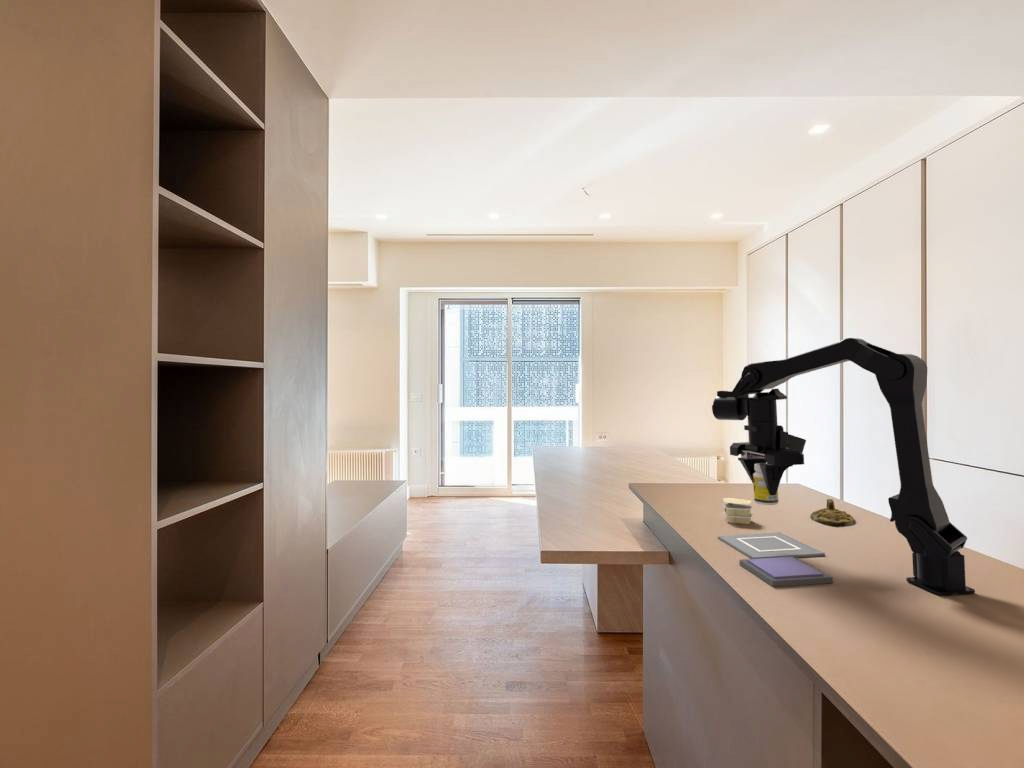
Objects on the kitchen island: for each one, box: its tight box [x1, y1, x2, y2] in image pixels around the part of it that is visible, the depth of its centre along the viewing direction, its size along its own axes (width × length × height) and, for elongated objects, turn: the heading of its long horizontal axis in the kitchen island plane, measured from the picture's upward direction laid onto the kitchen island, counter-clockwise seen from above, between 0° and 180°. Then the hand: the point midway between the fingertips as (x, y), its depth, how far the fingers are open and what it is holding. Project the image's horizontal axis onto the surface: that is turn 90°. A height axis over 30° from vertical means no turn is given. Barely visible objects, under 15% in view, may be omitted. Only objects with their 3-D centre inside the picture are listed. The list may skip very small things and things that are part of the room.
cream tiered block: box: [722, 497, 753, 525], centre depth 128 cm, size 10×9×6 cm
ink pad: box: [738, 556, 834, 588], centre depth 92 cm, size 11×11×1 cm
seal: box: [810, 498, 855, 527], centre depth 127 cm, size 9×5×15 cm
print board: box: [717, 531, 826, 559], centre depth 108 cm, size 15×15×1 cm
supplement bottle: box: [752, 463, 780, 506], centre depth 108 cm, size 5×5×8 cm
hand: (765, 492), depth 108 cm, fingers closed on supplement bottle, 5 cm apart
